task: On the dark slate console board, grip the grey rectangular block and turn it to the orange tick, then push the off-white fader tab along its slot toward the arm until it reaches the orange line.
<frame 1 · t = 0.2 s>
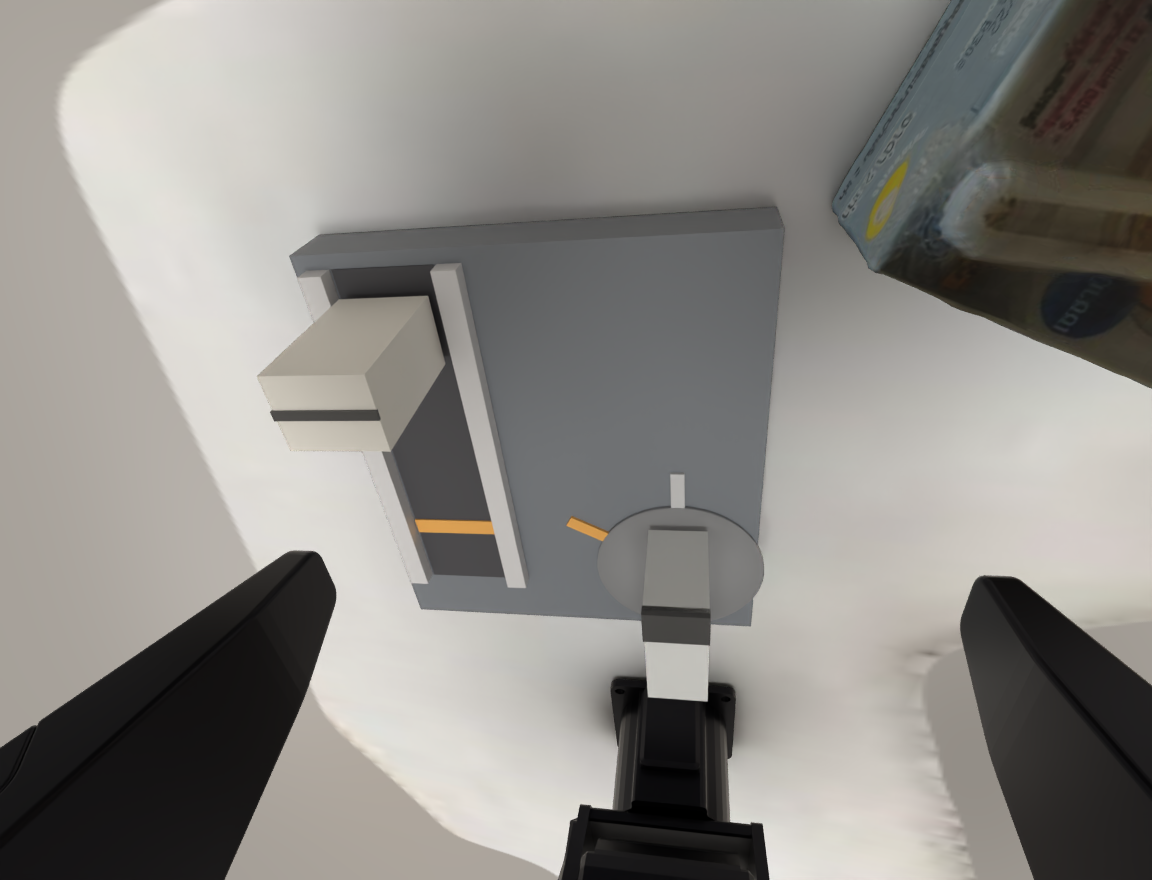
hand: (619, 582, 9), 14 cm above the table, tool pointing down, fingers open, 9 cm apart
console board: (563, 437, 25), on the table
grey rectangular block: (677, 614, 24), point 4 cm above the table, hinge at 0.0°
fader tab: (362, 370, 19), point 5 cm above the table, slide at 0.0 cm
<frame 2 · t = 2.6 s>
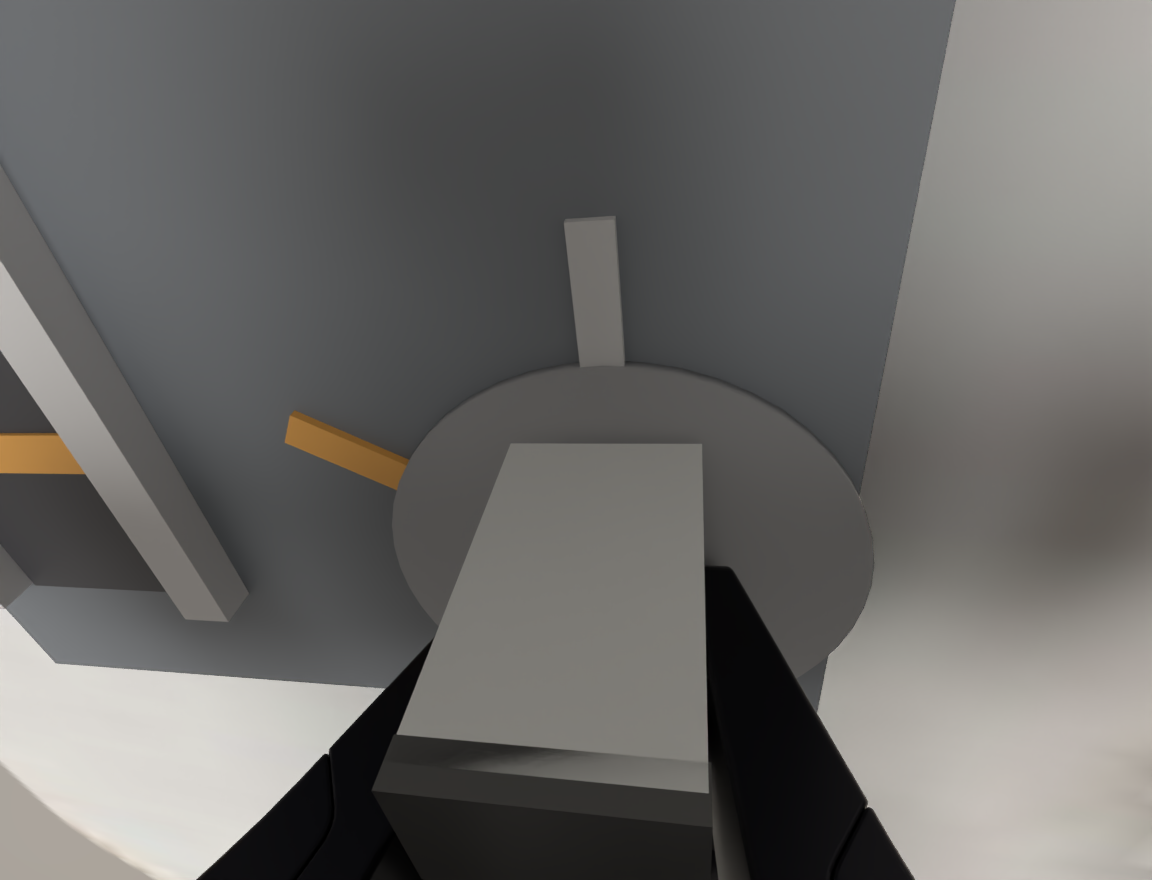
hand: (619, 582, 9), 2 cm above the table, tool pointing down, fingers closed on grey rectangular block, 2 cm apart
console board: (281, 186, 9), on the table
grey rectangular block: (602, 722, 7), point 4 cm above the table, hinge at 0.0°, touching gripper
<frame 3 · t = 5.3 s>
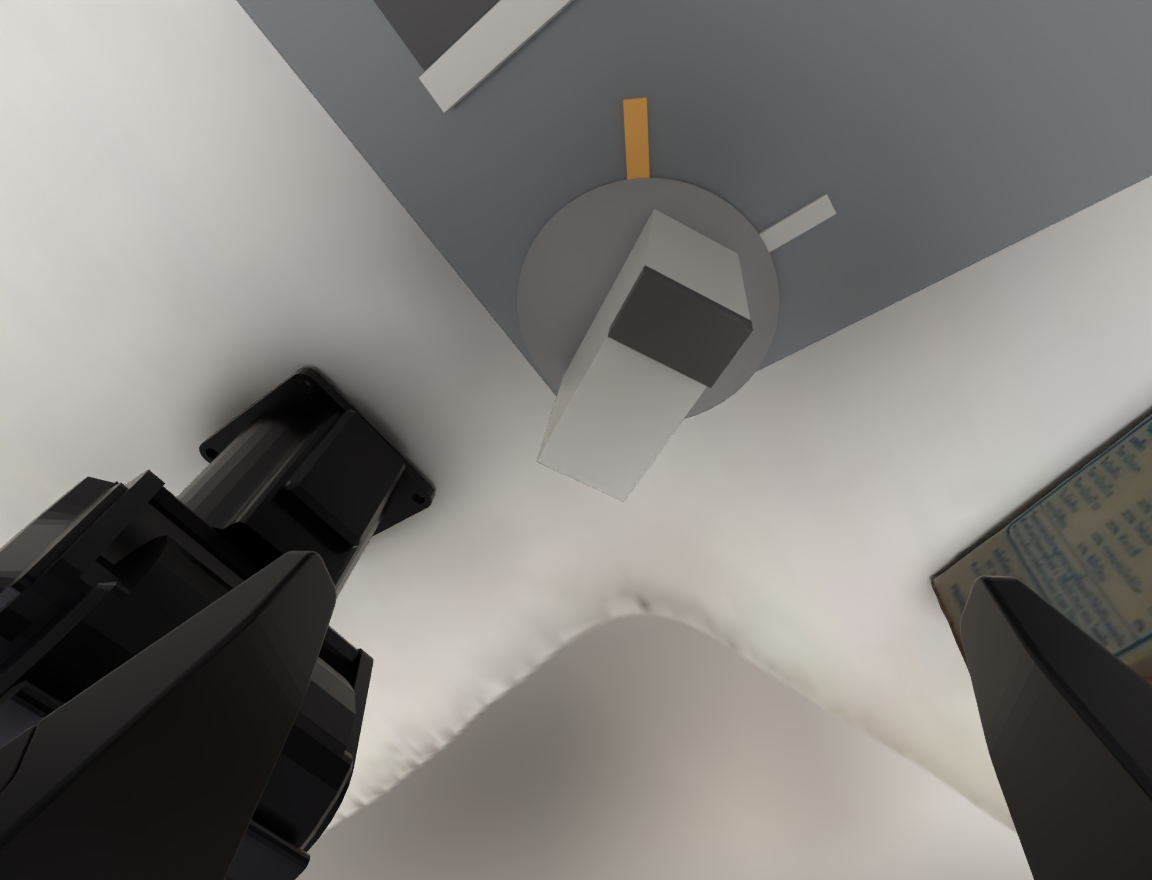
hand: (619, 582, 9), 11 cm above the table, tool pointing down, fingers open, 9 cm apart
grey rectangular block: (638, 355, 14), point 4 cm above the table, hinge at 28.8°
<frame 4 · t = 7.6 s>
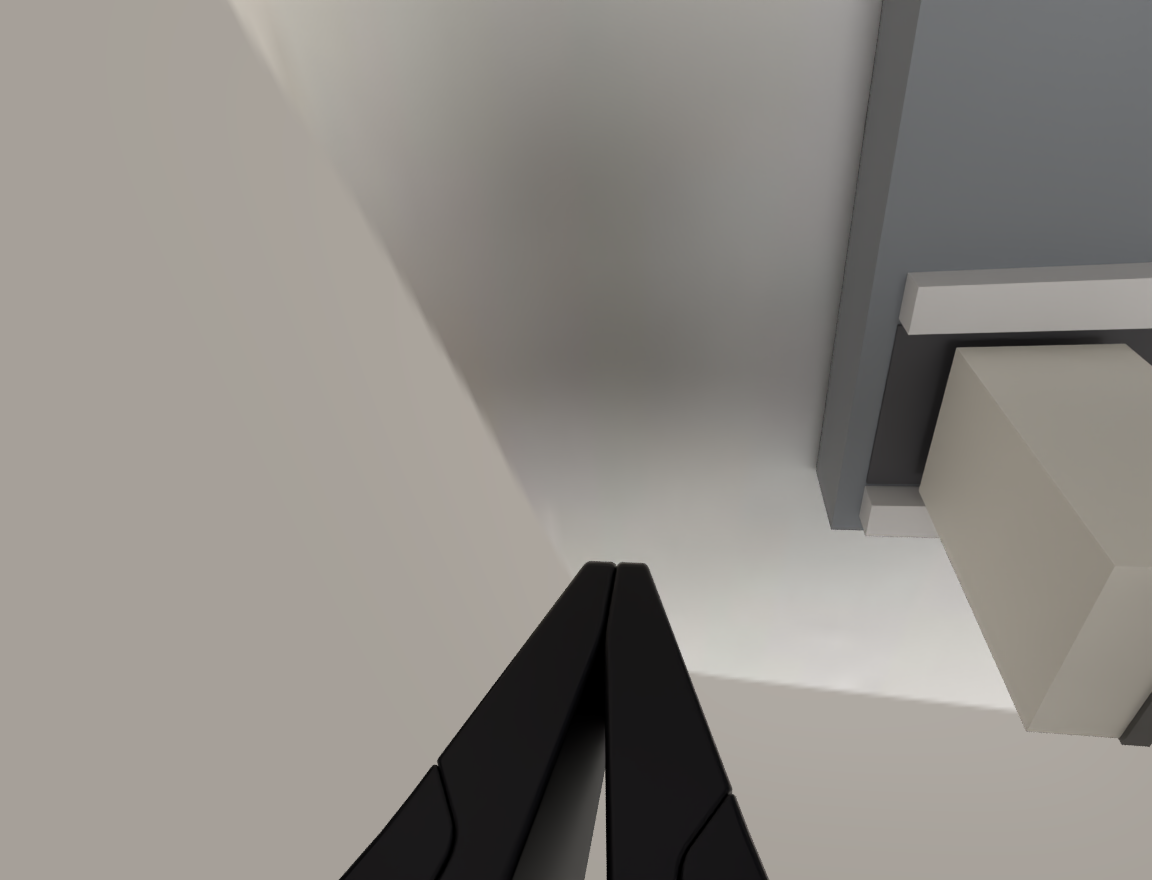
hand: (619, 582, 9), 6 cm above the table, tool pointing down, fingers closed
fader tab: (1081, 520, 9), point 5 cm above the table, slide at 0.0 cm
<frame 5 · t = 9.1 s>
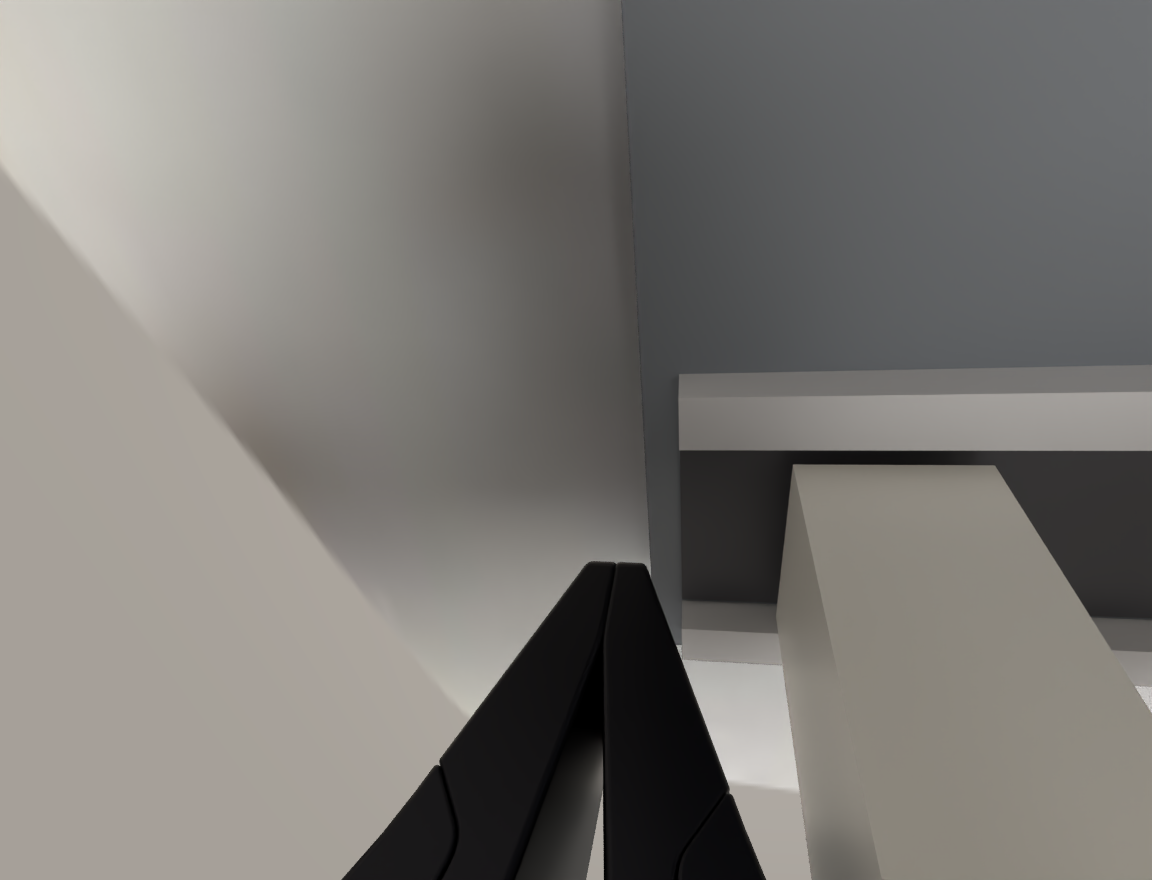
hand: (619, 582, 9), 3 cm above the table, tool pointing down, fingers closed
fader tab: (923, 707, 7), point 5 cm above the table, slide at 0.7 cm, touching gripper
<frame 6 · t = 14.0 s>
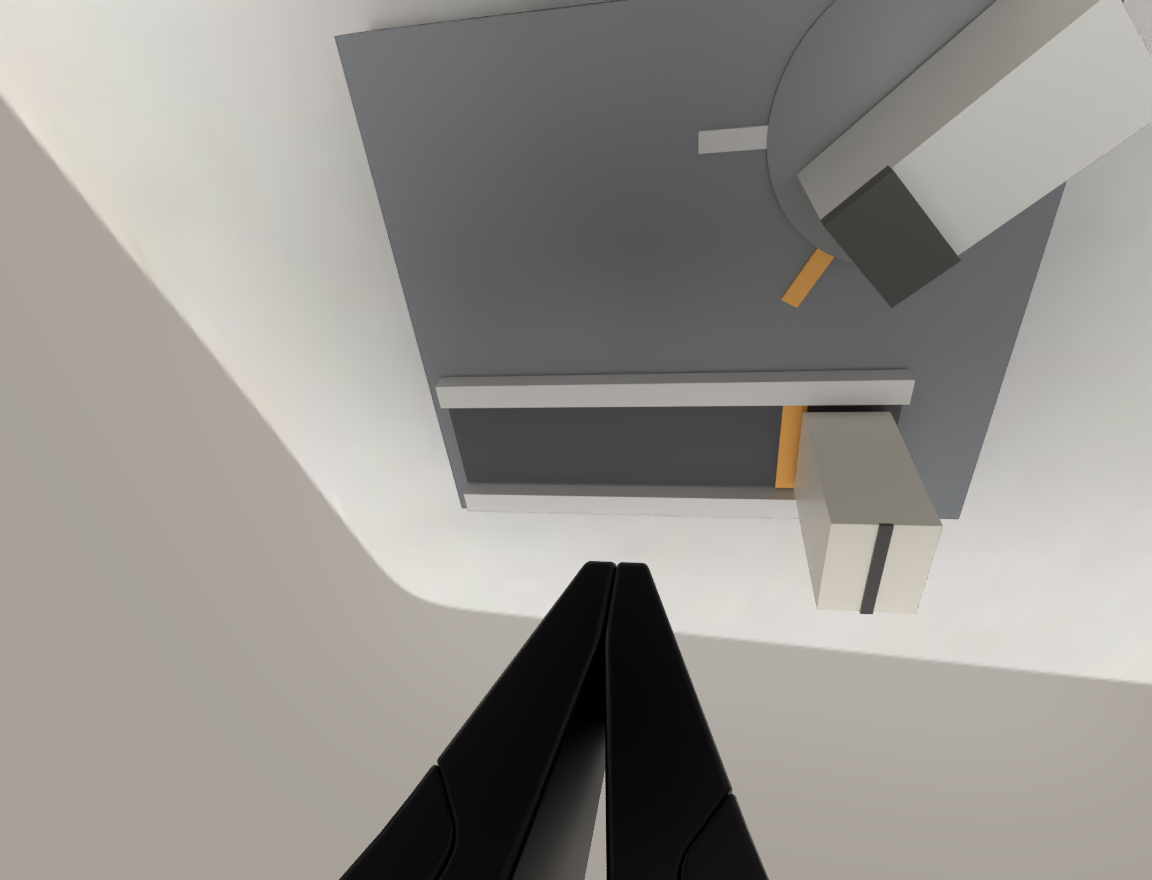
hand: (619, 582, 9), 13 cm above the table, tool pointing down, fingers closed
console board: (693, 286, 20), on the table
grey rectangular block: (950, 146, 13), point 4 cm above the table, hinge at 40.8°
fader tab: (855, 506, 17), point 5 cm above the table, slide at 10.4 cm
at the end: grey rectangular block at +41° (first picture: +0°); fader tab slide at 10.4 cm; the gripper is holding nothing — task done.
